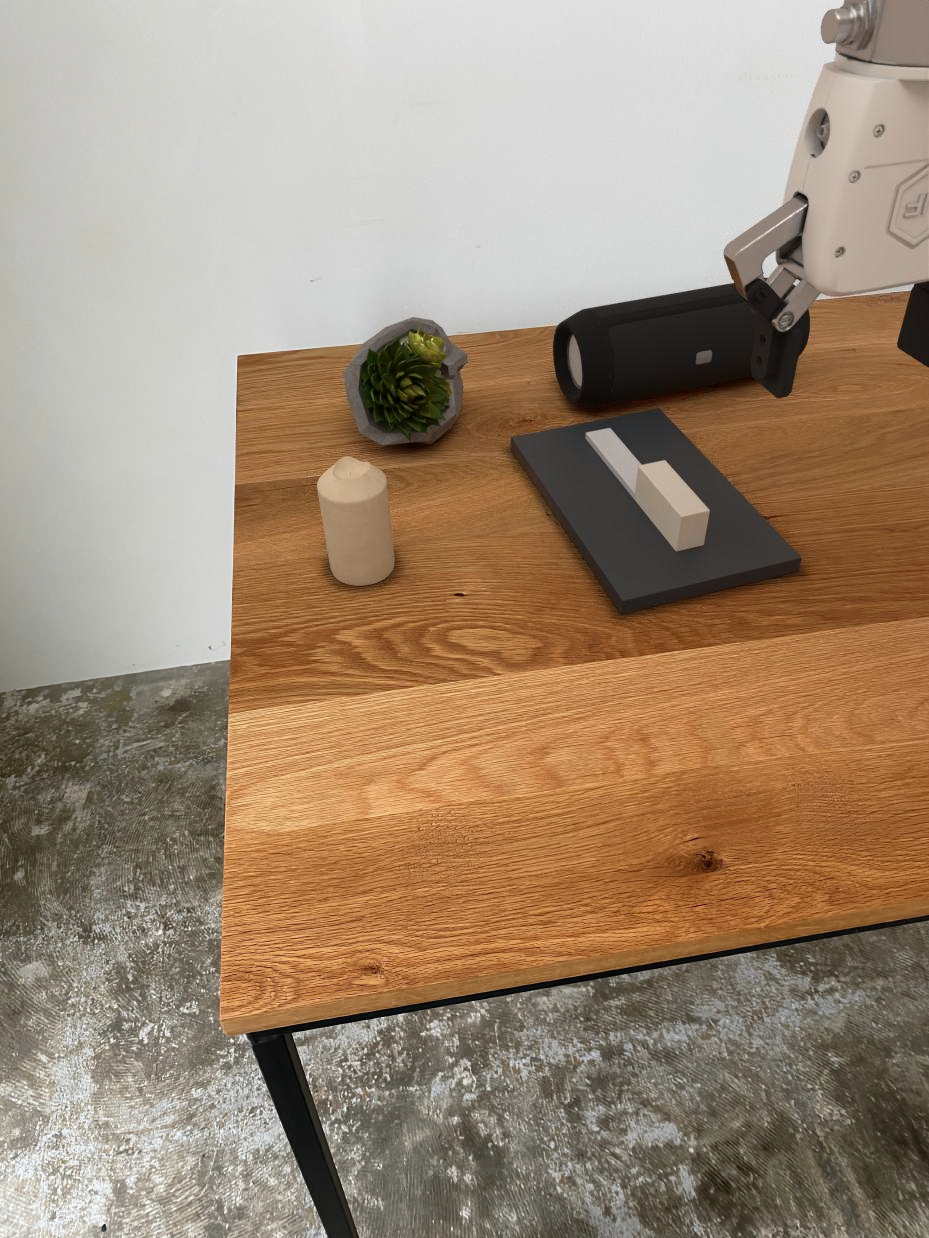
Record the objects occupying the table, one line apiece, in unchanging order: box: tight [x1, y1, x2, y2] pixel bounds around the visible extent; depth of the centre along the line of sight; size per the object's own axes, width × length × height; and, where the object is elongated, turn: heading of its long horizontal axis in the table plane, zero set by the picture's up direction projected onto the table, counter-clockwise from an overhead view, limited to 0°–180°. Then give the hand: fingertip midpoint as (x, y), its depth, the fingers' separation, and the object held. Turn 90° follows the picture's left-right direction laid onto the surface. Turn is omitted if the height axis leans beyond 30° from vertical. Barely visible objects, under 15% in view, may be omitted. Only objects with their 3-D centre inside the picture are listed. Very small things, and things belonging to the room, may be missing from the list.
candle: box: [316, 455, 396, 587], centre depth 76 cm, size 6×6×10 cm
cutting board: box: [510, 407, 803, 615], centre depth 84 cm, size 16×26×2 cm, turn 18°
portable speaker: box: [552, 277, 811, 408], centre depth 98 cm, size 26×10×10 cm, turn 108°
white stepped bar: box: [585, 428, 710, 551], centre depth 83 cm, size 19×3×4 cm, turn 18°
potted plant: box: [342, 316, 469, 446], centre depth 91 cm, size 12×13×15 cm
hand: (844, 372), depth 54 cm, fingers open, 9 cm apart
